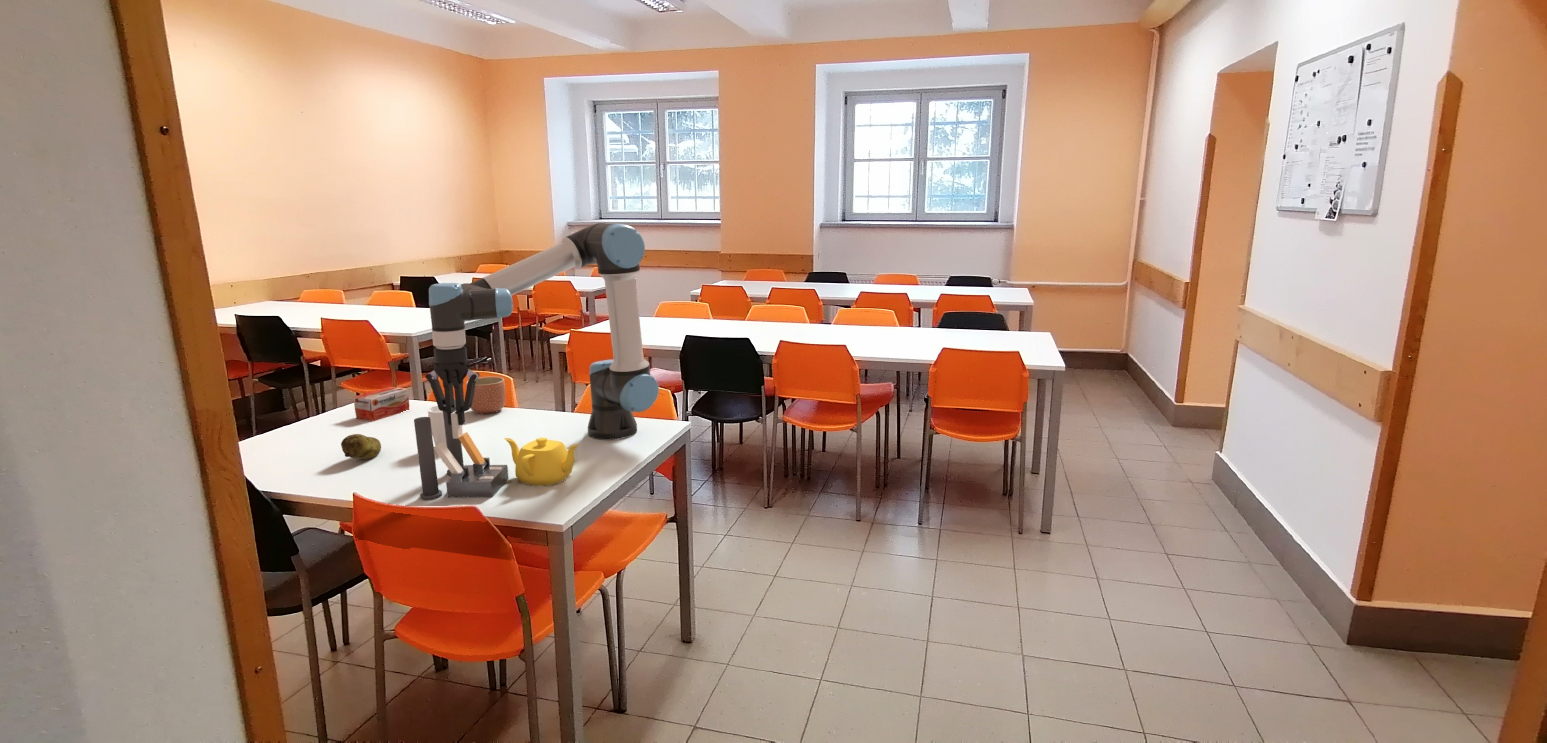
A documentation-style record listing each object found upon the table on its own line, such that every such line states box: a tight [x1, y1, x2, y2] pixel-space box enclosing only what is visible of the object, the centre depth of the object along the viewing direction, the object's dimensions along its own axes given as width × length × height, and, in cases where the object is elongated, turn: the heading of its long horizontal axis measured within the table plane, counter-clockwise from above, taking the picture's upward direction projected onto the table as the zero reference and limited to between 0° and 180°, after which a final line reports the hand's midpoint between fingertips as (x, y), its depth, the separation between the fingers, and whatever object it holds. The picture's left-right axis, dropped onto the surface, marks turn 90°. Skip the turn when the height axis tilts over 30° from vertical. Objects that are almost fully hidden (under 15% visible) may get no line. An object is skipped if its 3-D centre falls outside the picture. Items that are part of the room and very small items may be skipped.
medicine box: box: [353, 386, 410, 422], centre depth 256 cm, size 15×8×8 cm, turn 156°
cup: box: [427, 405, 447, 447], centre depth 222 cm, size 9×9×12 cm
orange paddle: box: [458, 432, 487, 467], centre depth 193 cm, size 2×3×10 cm, turn 0°
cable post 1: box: [413, 416, 443, 501], centre depth 185 cm, size 5×5×20 cm
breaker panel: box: [445, 457, 510, 498], centre depth 191 cm, size 11×12×6 cm
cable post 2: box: [443, 399, 465, 477], centre depth 200 cm, size 5×5×20 cm
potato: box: [340, 433, 382, 460], centre depth 213 cm, size 8×13×8 cm, turn 158°
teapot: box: [504, 437, 580, 486], centre depth 196 cm, size 22×16×11 cm
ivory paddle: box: [433, 441, 466, 477], centre depth 186 cm, size 2×3×10 cm, turn 179°
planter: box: [465, 376, 506, 415], centre depth 259 cm, size 12×12×11 cm
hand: (457, 436), depth 192 cm, fingers closed
